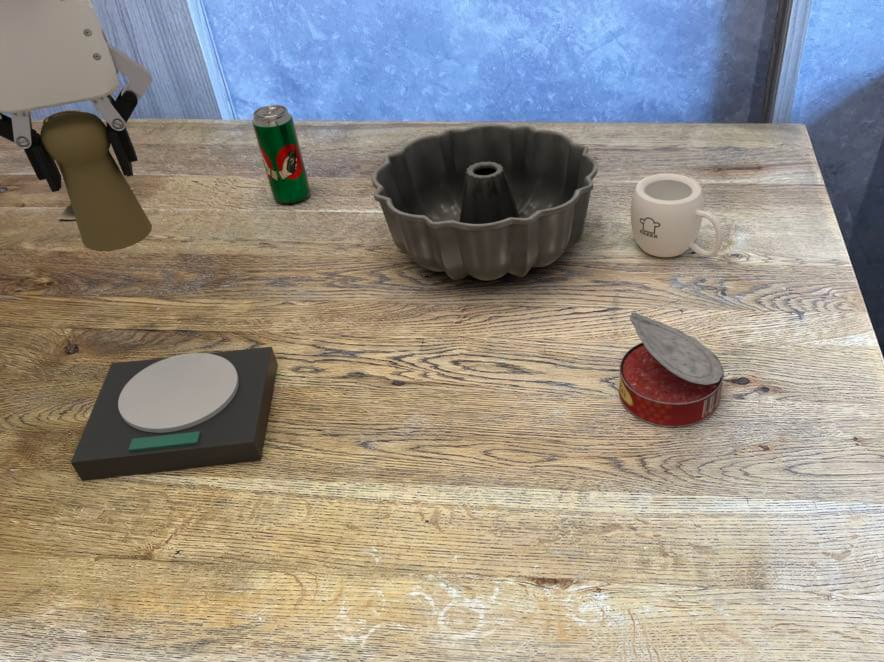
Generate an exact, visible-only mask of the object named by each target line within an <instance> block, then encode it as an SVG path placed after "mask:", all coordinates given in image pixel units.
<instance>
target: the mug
mask: <svg viewBox="0 0 884 662" xmlns="http://www.w3.org/2000/svg"><path fill="white" fill-rule="evenodd" d="M704 203H705V201H704V192H703V189H702V187H701V185H700V184H699V182H698V181H696V180H695V179H693V178H691V177H690V176H686V175H683V174H678V173H669V172H668V173H657V174H651V175H649V176H646V177H644V178H642V179H640V180H639V181H638V182H637V184H636V185H635V188H634V189H633V191H632V196H631V201H630V225H631V229H632V233H633V234H632V235H633V236H634V239H635V241H636V244H637V245H638V246H639V248H640V249H641V250H642V251H643V252H645V253H646V254H648V255H650V256H653V257H659V258H673V257H677V256H680V255H682V254H684V253H685V252H687V250H689V249H691V250H693V252H694V253H696V254H698V255H699V256H702V257H707V258H709V257H714V256H715V255H717V253H719V251H720V250H721V246H722V244H723V230H722V226H721V224H720V221H719V220H718V219H717V217H716V216H715V215H714V214H713V213H711V212H710V211H706V210H704ZM703 218H705V219H707V220H708V221H710V223H711V224H712V226H713V227H714V228H713V229H714V231H715V243H714V246H713V248H711V249H710V250H705V249H703V248H701V247H700V246H699V245H698V244H696V242H695V241H696V239H697V236H698V233H699V232H700V228H701V225H702V221H703Z"/></svg>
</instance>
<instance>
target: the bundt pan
mask: <svg viewBox="0 0 884 662" xmlns="http://www.w3.org/2000/svg"><path fill="white" fill-rule="evenodd" d="M588 150H589V147H588V145H585V144H581V143H578V142H574V140H573V139H572V138H571V137H570V136H568V135H567V134H565V133H562V132H559V131H557V130H556V131H555V130H551V129H549V130H548V129H537V128H536V127H533V126H532V125H529V124H523V125H514V126H513V125H508V124H501V123H500V124H499V123H483V124H477V125H472V126H471V125H470V126H468V127H464V128H454V127H451V128H450V127H449V128H446V129H444V130H442V131H441V132H439V133H434V134H428V135H424V136H420V137H417V138H414V139H412V140H410V141H408V142H406V143H405V144H404V145H402V146H401V147H400V148H399V150H396V151H393V152H390V153H386V154H385V155H384V156H383V161H384V162H383V163H382V164H380V165H379V166H377V167H376V168H375V169H374V170H373V172H372V174H371V183H372V186H373V188H374V189H375V190H374V192H373V199H374V200H375V201H376V202H379V206H380V208H381V211H382V214H383V217H384V219H385V222H386V224H387V227H388V230H389V233H390V235H391V239H392V240H393V243H394V244H395V246H396V248H398V250H400V251H401V252H402V253H404V254H405V255H407V256H409V257H410V258H411V259H412V260H413V261H414V262H415V263H416V264H417V265H419V266H420V267H422V268H424V269H425V270H428V271H432V272H444V273H445V274H446V275H447V277H449V278H450V279H452V280H456V281H458V280H461V279H464V278H465V277H467V276H471V277H472V278H473V279H477V280H480V281H494V280H497V279H500V278H502V277H504V276H505V275H506V274H507V273H508V274H511V275H513V276H515V277H518V278H523V277H525V276H526V275H527V274H528V273H529V271H530V270H531V269H532V268H543V267H546V266H548V265H552V264H553V263H555V261H557V260H558V259H559V258H560V257H561V256H562V255H563V253H565V252H567V251H569V250H570V249H572V248H573V247H575V246H576V245H577V244H578V243H579V241H580V239H582V238H581V237H582V236H583V233H584V229H585V223H586V217H587V215H588V209H589V204H590V200H591V199H590V198H591V191H593V190H594V182H593V180H594V179H595V177H596V176H597V174H598V168H599V166H598V165H599V164H598V162H597V160H596V159H595V158H594V157H593V156H592V155H591V154H589V151H588Z"/></svg>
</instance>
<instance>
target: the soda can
mask: <svg viewBox="0 0 884 662" xmlns="http://www.w3.org/2000/svg"><path fill="white" fill-rule="evenodd" d="M252 116H253V119H252V127H253V130H254V135H255V138H256V141H257V145H258V148H259V152H260V156H261V158H262V163H263V166H264V169H265V174H266V178H267V181H268V184H269V188H270V192H271V194H272V197H273V199H274V200H275V201H277V202H278V203H280V204H282V205H283V204H284V205H293V204H298V203H301V202H303V201H305V200H306V199H307V198H308V197H309V195H310V193H311V187H310V183H309V179H308V174H307V171H306V167H305V162H304V159H303V155H302V150H301V146H300V143H299V138H298V134H297V130H296V126H295V122H294V118H293V115H292V114H291V113H290V112H289V110H288V108H287V107H286V106H284V105H281V104H270V105H265V106H261V107H259V108H257V109H255V110H253V113H252Z"/></svg>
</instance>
